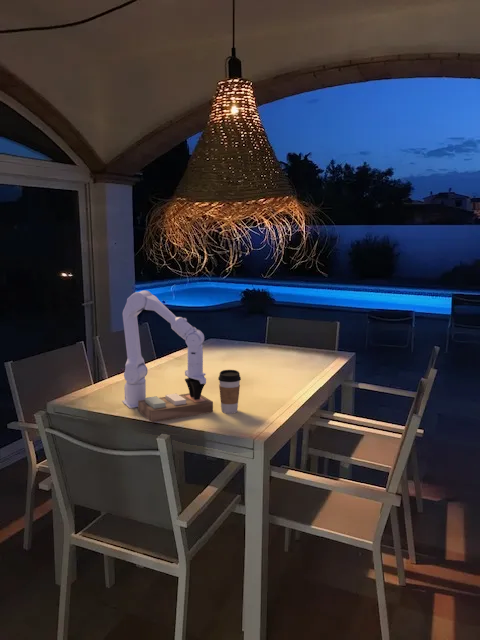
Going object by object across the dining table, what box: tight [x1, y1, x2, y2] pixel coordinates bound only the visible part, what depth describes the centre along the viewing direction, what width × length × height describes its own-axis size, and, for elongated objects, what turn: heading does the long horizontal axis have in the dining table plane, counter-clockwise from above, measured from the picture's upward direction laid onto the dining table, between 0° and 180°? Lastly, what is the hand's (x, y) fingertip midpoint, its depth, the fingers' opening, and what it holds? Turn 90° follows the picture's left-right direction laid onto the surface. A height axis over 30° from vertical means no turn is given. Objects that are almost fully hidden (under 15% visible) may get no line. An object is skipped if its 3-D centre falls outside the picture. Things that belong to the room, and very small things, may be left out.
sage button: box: [145, 396, 166, 409], centre depth 195 cm, size 9×4×4 cm, turn 30°
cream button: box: [164, 393, 186, 406], centre depth 199 cm, size 9×4×4 cm, turn 30°
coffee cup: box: [217, 369, 242, 415], centre depth 199 cm, size 8×8×15 cm
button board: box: [137, 393, 214, 423], centre depth 199 cm, size 14×24×4 cm, turn 120°
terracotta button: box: [185, 395, 206, 402], centre depth 203 cm, size 9×4×4 cm, turn 30°
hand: (195, 397), depth 202 cm, fingers open, 3 cm apart
